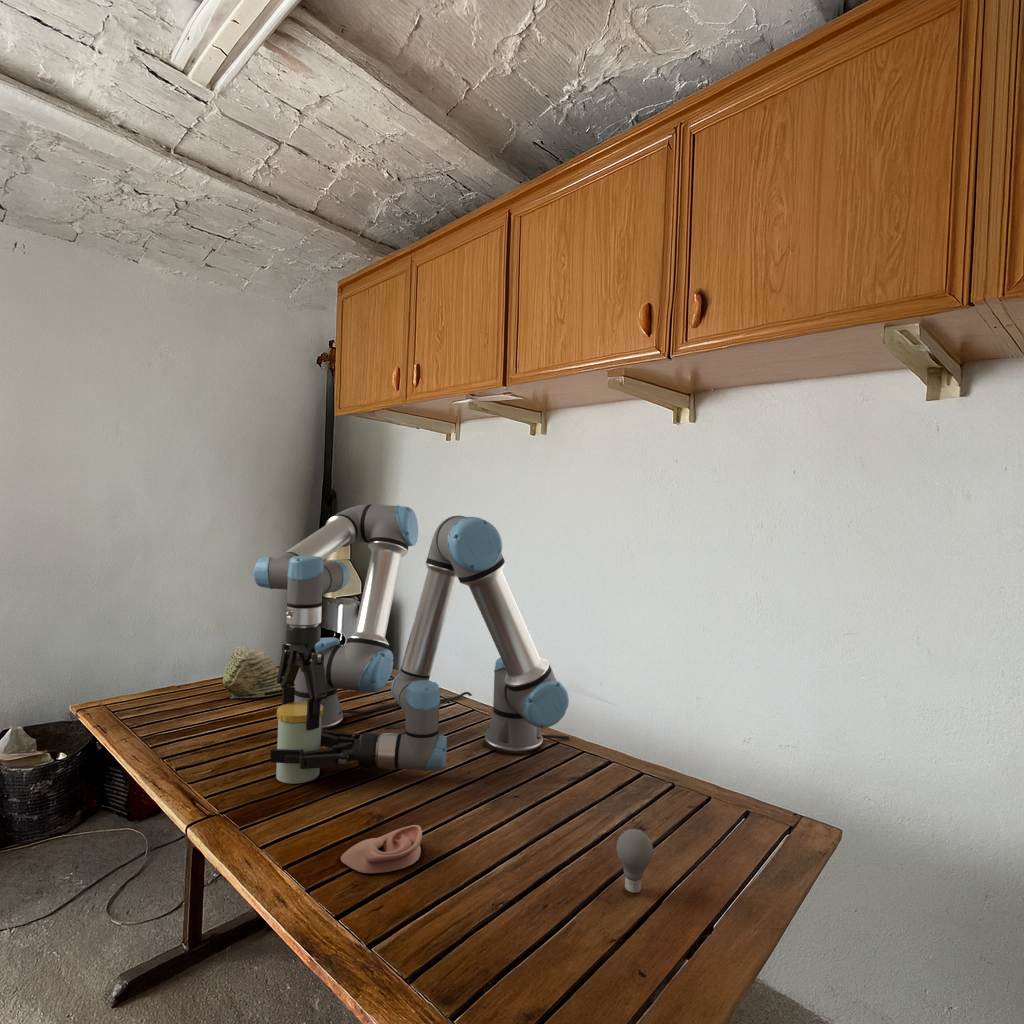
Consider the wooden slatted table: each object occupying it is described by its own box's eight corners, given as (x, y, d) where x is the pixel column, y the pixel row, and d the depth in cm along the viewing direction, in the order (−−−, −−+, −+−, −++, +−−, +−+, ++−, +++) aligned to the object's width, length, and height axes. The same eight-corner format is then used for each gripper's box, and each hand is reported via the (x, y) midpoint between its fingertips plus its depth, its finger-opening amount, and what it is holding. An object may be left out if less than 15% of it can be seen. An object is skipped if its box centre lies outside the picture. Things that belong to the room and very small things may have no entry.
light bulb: (610, 879, 108) (613, 822, 108) (644, 879, 109) (647, 822, 109) (619, 902, 102) (622, 840, 102) (655, 901, 103) (658, 840, 103)
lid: (290, 706, 149) (290, 699, 149) (330, 710, 148) (331, 703, 148) (267, 720, 139) (268, 713, 139) (311, 724, 138) (311, 717, 138)
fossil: (218, 695, 195) (220, 647, 195) (278, 685, 208) (279, 640, 207) (228, 703, 189) (230, 653, 188) (289, 692, 201) (290, 645, 201)
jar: (288, 764, 149) (291, 702, 149) (326, 768, 148) (328, 705, 147) (268, 781, 140) (270, 715, 140) (307, 785, 139) (310, 719, 138)
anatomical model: (332, 845, 108) (361, 813, 119) (331, 868, 108) (361, 834, 119) (406, 857, 105) (428, 823, 117) (405, 880, 106) (428, 844, 117)
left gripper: (263, 618, 148) (259, 713, 148) (316, 635, 133) (312, 740, 133) (292, 615, 153) (289, 706, 154) (346, 630, 139) (342, 731, 139)
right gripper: (367, 788, 133) (260, 785, 133) (386, 747, 155) (294, 744, 155) (368, 753, 133) (261, 749, 133) (387, 717, 155) (295, 713, 155)
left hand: (299, 722), depth 144 cm, fingers closed on lid, 10 cm apart
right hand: (279, 746), depth 144 cm, fingers closed on jar, 9 cm apart
